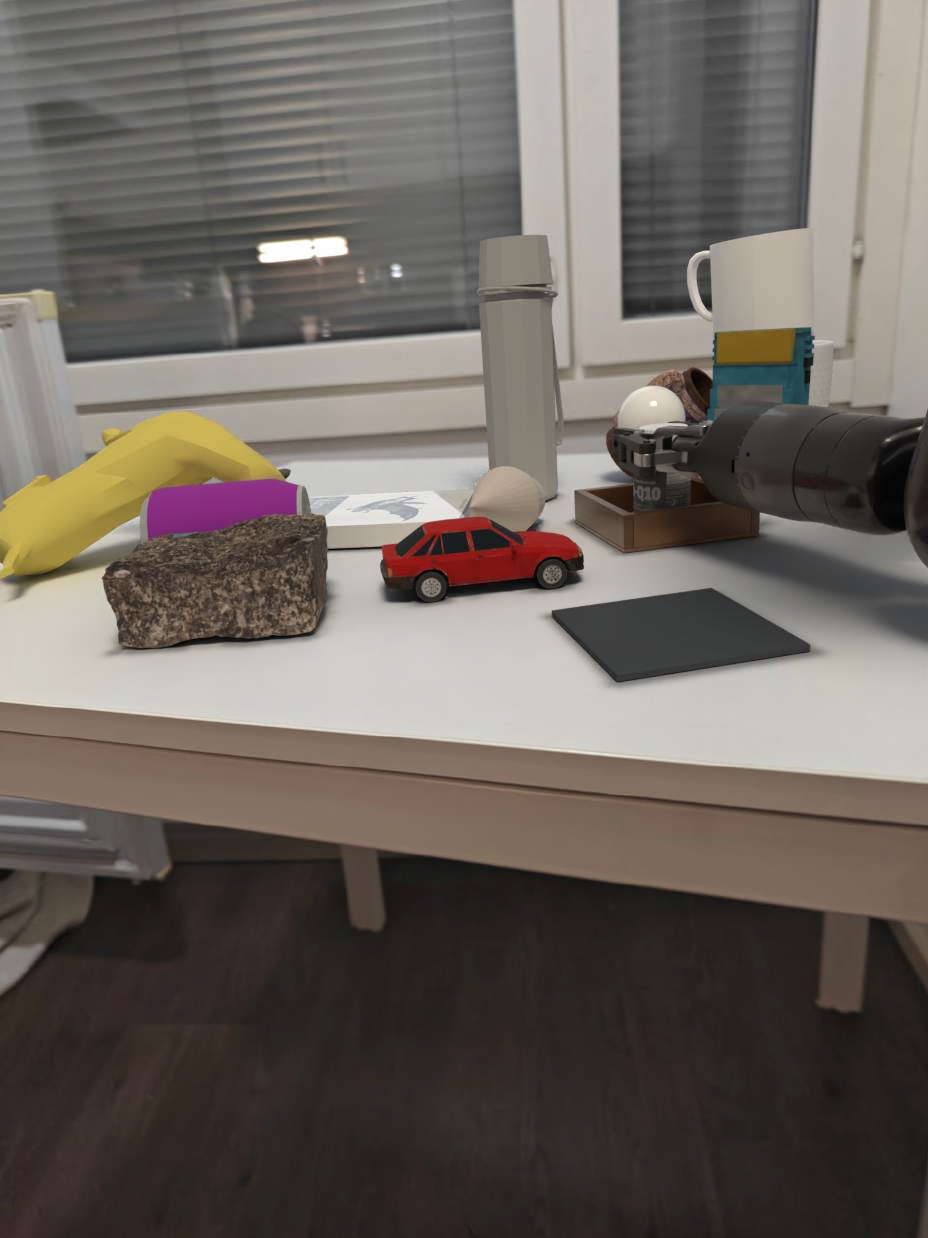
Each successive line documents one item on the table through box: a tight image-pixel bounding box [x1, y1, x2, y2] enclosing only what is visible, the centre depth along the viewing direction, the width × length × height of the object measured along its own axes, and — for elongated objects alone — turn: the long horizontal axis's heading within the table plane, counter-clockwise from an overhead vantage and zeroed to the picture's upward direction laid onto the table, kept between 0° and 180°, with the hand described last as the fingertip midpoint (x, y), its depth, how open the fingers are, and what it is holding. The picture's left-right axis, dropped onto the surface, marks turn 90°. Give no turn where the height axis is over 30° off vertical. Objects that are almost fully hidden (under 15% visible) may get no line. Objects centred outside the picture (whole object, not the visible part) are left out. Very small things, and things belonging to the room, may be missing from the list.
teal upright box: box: [707, 327, 816, 420], centre depth 81 cm, size 10×4×15 cm, turn 43°
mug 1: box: [605, 366, 713, 479], centre depth 89 cm, size 10×7×12 cm
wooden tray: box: [573, 478, 761, 554], centre depth 72 cm, size 12×12×3 cm
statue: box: [0, 410, 288, 579], centre depth 74 cm, size 27×13×20 cm
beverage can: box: [139, 478, 311, 544], centre depth 66 cm, size 8×8×12 cm
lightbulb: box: [617, 385, 686, 430], centre depth 81 cm, size 6×6×11 cm
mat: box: [551, 587, 812, 683], centre depth 49 cm, size 11×11×1 cm
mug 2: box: [686, 227, 815, 338], centre depth 88 cm, size 13×10×10 cm
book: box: [308, 488, 475, 549], centre depth 79 cm, size 23×14×2 cm, turn 83°
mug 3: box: [809, 339, 835, 408], centre depth 94 cm, size 15×11×13 cm
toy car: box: [379, 517, 585, 603], centre depth 60 cm, size 6×14×5 cm, turn 98°
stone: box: [101, 513, 329, 649], centre depth 57 cm, size 11×13×6 cm
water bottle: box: [475, 234, 565, 502], centre depth 85 cm, size 9×8×25 cm
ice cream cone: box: [470, 466, 546, 532], centre depth 72 cm, size 6×6×15 cm
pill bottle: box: [632, 423, 691, 512], centre depth 71 cm, size 5×5×8 cm
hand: (644, 437), depth 72 cm, fingers closed on pill bottle, 4 cm apart
